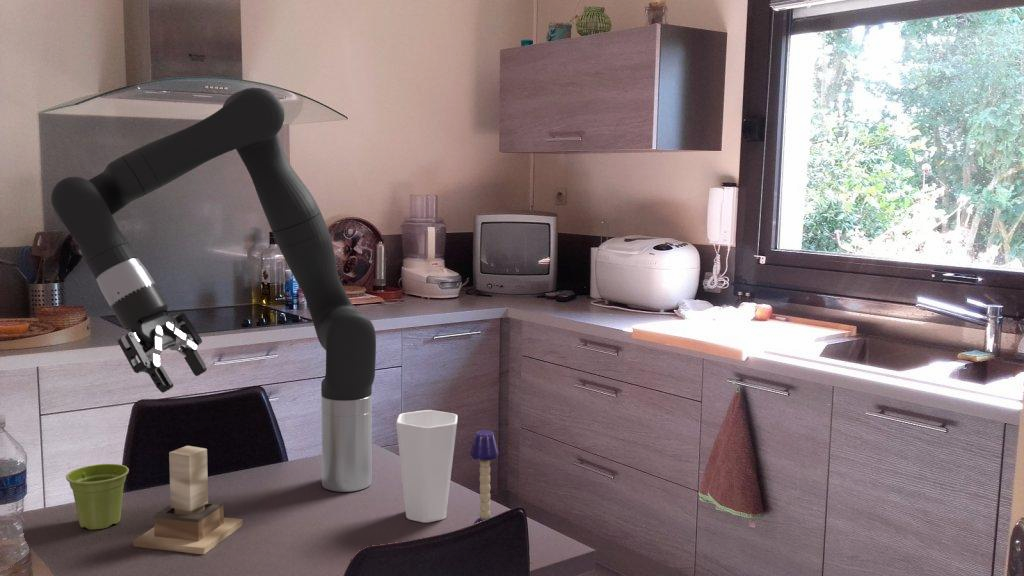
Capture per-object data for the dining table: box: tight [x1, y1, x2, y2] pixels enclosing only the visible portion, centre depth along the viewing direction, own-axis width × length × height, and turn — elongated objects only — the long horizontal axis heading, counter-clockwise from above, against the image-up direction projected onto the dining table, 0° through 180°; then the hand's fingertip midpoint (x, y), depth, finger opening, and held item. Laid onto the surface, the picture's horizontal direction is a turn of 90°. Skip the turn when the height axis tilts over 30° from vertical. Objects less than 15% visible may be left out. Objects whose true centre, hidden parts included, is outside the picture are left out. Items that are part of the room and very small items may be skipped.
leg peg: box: [168, 445, 209, 516], centre depth 143 cm, size 4×4×13 cm
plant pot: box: [65, 463, 130, 530], centre depth 148 cm, size 9×9×9 cm
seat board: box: [132, 500, 244, 555], centre depth 144 cm, size 12×12×4 cm
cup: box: [395, 409, 458, 523], centre depth 154 cm, size 11×10×17 cm
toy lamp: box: [469, 429, 499, 524], centre depth 148 cm, size 5×5×17 cm
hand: (185, 381), depth 143 cm, fingers open, 8 cm apart
